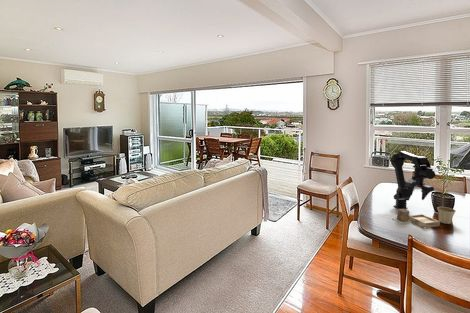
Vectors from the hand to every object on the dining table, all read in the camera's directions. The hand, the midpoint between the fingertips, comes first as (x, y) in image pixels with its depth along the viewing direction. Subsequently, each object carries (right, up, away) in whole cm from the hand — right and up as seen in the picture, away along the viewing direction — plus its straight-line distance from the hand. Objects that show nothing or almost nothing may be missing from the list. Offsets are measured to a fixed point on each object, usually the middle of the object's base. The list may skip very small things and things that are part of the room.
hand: (416, 197), depth 177 cm
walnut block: (-13, -14, -6) cm, 20 cm away
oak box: (-2, -15, -9) cm, 18 cm away
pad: (-13, -14, -6) cm, 20 cm away
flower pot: (+12, -15, -8) cm, 21 cm away
